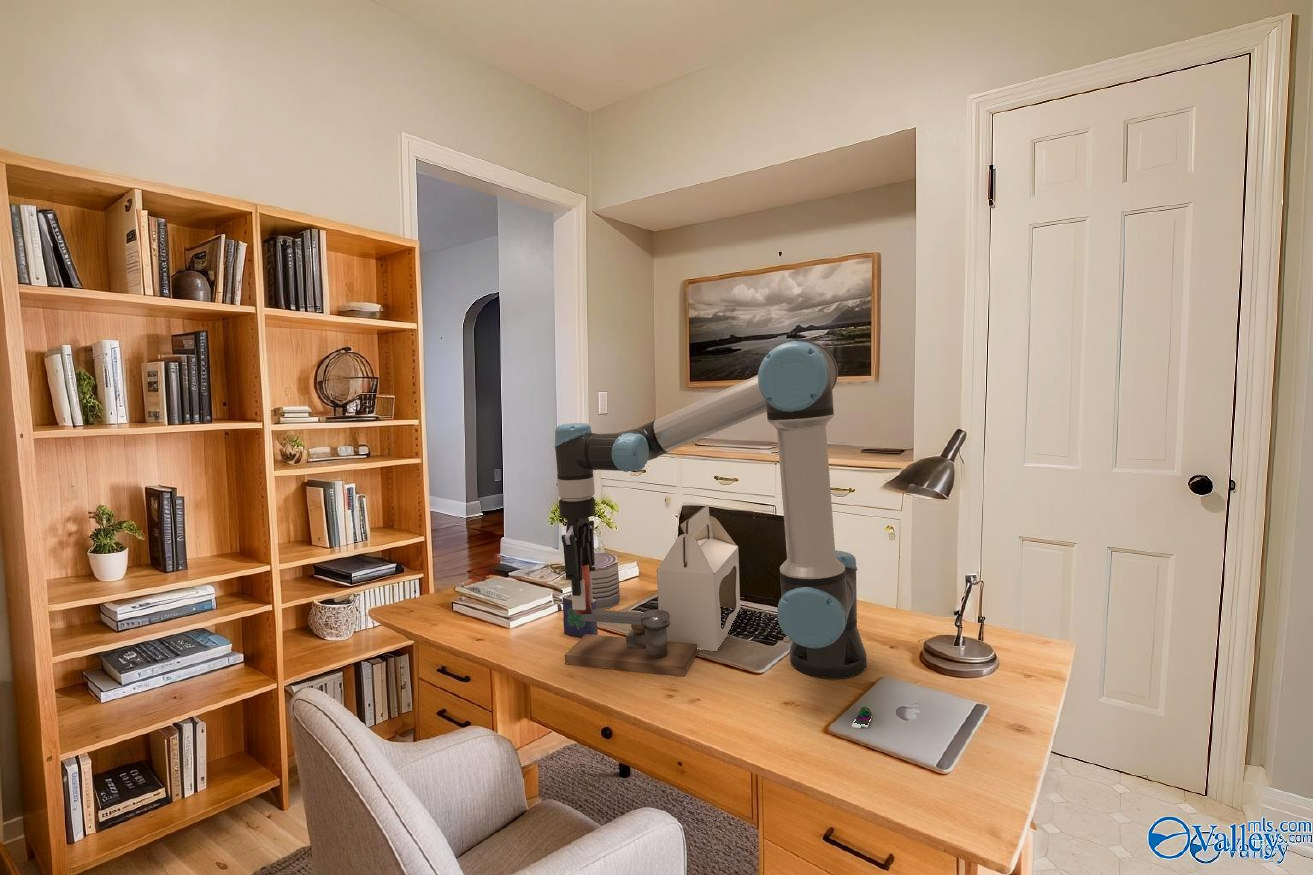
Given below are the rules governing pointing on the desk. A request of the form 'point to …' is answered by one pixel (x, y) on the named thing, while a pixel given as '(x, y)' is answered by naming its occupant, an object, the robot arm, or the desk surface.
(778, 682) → the desk surface
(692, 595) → the gable box
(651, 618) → the lever
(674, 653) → the wooden base plate
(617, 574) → the can
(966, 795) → the desk surface
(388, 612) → the desk surface
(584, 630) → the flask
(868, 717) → the green rounded lump
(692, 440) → the robot arm
